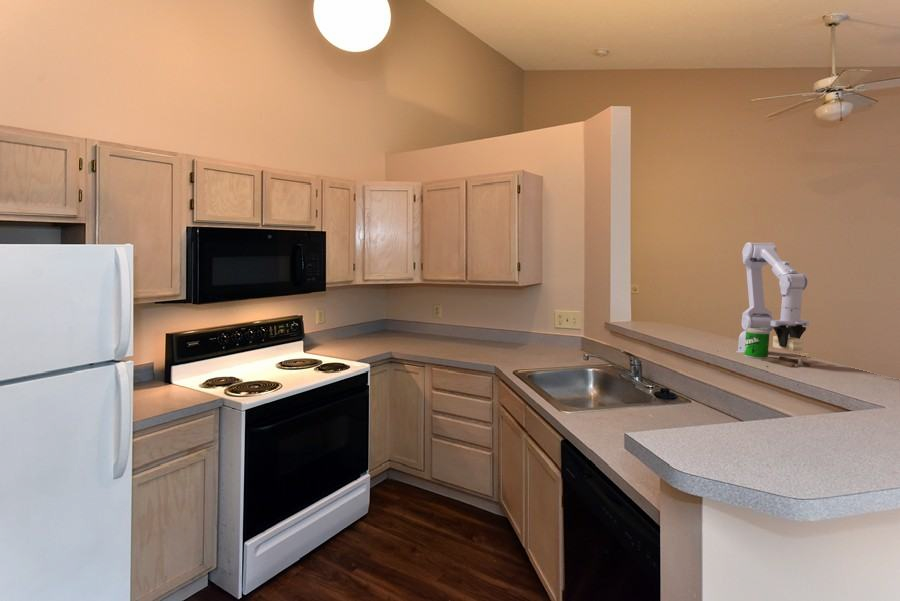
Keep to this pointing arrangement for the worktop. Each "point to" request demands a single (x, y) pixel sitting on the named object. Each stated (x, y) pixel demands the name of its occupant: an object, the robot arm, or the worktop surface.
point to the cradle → (795, 362)
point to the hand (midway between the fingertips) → (787, 346)
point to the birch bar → (789, 344)
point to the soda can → (756, 342)
